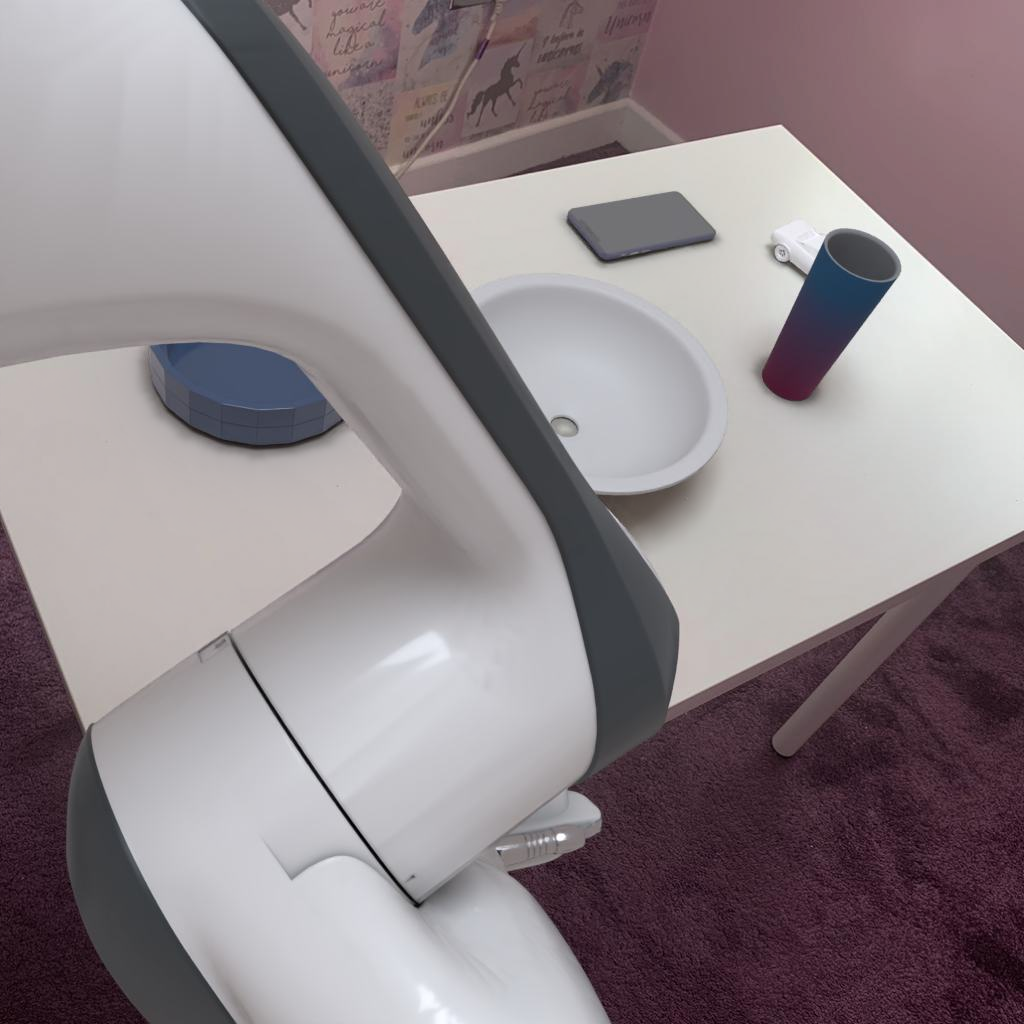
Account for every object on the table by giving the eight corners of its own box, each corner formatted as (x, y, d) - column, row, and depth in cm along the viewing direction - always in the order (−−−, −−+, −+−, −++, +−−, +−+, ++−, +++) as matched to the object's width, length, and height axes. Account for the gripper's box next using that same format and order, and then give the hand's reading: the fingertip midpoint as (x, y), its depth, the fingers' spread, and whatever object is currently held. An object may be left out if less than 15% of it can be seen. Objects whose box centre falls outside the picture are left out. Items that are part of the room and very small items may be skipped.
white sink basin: (396, 330, 91) (407, 270, 86) (647, 327, 99) (671, 272, 94) (456, 556, 78) (474, 501, 73) (741, 533, 86) (774, 482, 81)
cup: (739, 374, 98) (809, 245, 87) (777, 345, 102) (849, 218, 90) (797, 419, 96) (877, 293, 85) (834, 387, 100) (915, 263, 88)
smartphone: (720, 233, 110) (605, 256, 103) (716, 240, 110) (602, 264, 103) (678, 189, 113) (564, 208, 106) (675, 196, 114) (562, 216, 107)
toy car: (845, 316, 107) (861, 291, 105) (759, 246, 112) (772, 220, 109) (875, 299, 110) (891, 274, 108) (790, 232, 115) (803, 206, 112)
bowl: (160, 457, 78) (158, 415, 74) (142, 304, 87) (139, 261, 83) (379, 442, 83) (386, 403, 80) (341, 300, 92) (346, 259, 89)
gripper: (618, 762, 44) (505, 671, 57) (87, 859, 37) (95, 730, 50) (621, 904, 45) (509, 783, 58) (104, 1024, 38) (108, 856, 51)
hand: (314, 759), depth 54 cm, fingers open, 8 cm apart
